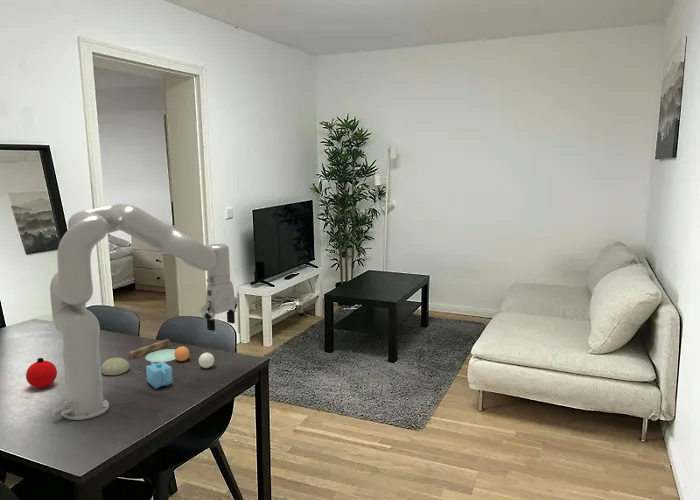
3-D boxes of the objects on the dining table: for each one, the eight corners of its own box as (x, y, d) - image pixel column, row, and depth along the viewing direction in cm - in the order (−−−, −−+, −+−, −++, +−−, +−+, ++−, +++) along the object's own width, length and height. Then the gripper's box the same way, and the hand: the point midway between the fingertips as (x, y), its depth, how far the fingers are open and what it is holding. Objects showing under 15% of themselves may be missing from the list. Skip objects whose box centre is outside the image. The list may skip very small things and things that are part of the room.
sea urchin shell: (121, 373, 185) (105, 356, 185) (108, 386, 187) (92, 370, 187) (136, 363, 194) (121, 347, 194) (124, 376, 196) (109, 361, 196)
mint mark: (161, 364, 197) (161, 364, 197) (137, 357, 204) (137, 357, 204) (190, 353, 209) (190, 353, 209) (166, 347, 216) (166, 346, 216)
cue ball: (206, 371, 191) (205, 356, 190) (195, 368, 194) (195, 353, 193) (217, 366, 196) (217, 352, 195) (207, 363, 199) (206, 349, 198)
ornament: (63, 384, 179) (61, 356, 177) (36, 394, 171) (33, 365, 170) (48, 379, 184) (45, 351, 182) (21, 388, 176) (18, 360, 174)
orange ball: (181, 364, 198) (180, 350, 197) (171, 361, 200) (170, 347, 200) (192, 359, 202) (192, 346, 201) (182, 357, 205) (182, 343, 204)
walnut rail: (132, 359, 203) (131, 353, 202) (128, 358, 204) (128, 352, 203) (169, 345, 218) (169, 339, 218) (166, 344, 219) (166, 339, 219)
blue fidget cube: (143, 380, 183) (142, 360, 182) (160, 376, 187) (159, 356, 186) (156, 392, 174) (155, 370, 173) (174, 387, 178) (173, 365, 177)
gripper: (208, 285, 176) (211, 335, 179) (244, 275, 190) (246, 321, 193) (192, 282, 180) (195, 331, 182) (228, 273, 194) (230, 318, 197)
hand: (221, 326), depth 188 cm, fingers open, 9 cm apart
